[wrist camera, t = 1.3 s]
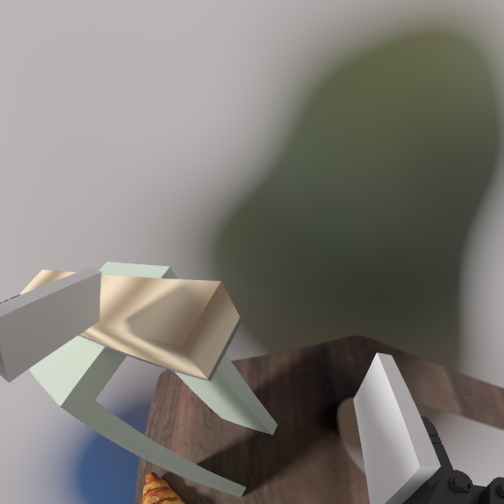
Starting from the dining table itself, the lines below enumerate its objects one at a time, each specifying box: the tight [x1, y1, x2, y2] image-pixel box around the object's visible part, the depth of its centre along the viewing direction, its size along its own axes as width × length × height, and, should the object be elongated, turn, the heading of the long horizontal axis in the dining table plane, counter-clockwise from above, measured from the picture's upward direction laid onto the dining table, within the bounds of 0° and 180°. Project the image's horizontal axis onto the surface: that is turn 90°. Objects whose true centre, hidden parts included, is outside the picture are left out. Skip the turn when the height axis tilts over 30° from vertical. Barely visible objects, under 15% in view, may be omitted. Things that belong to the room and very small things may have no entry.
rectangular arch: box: [29, 262, 277, 497], centre depth 30 cm, size 10×14×34 cm
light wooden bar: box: [20, 270, 242, 382], centre depth 20 cm, size 24×4×3 cm, turn 67°
